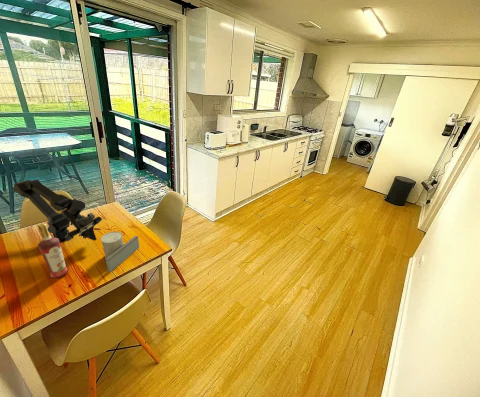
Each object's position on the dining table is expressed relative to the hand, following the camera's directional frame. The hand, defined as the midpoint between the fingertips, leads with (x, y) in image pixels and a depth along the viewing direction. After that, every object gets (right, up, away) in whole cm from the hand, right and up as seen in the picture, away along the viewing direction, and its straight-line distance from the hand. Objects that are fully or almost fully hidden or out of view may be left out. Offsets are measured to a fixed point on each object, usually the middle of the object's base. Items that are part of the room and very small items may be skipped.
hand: (95, 240), depth 121 cm
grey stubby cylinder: (+11, -9, 0) cm, 14 cm away
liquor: (-8, -14, -14) cm, 21 cm away
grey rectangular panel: (+17, -10, -1) cm, 19 cm away
